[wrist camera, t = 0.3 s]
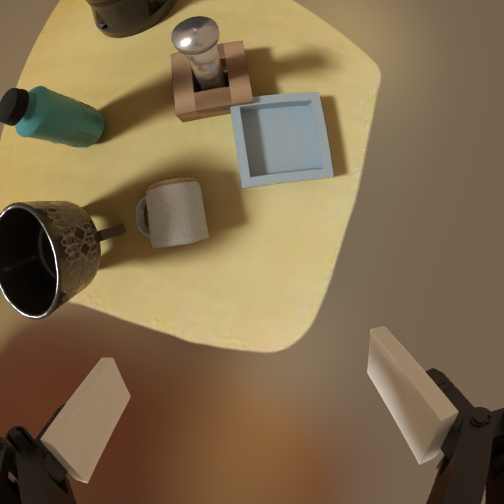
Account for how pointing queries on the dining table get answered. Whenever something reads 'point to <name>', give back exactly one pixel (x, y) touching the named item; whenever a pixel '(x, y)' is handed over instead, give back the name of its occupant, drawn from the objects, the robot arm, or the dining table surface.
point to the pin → (200, 50)
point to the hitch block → (214, 100)
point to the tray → (281, 139)
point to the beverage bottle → (51, 117)
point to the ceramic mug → (173, 213)
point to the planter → (47, 254)
